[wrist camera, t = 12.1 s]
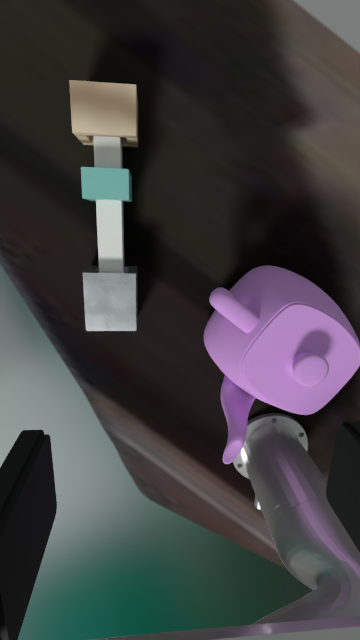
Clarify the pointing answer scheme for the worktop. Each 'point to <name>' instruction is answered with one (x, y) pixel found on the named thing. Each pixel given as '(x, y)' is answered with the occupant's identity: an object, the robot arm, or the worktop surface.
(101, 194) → the plug
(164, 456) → the worktop surface
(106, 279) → the sleeve
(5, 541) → the robot arm
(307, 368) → the teapot
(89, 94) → the socket
